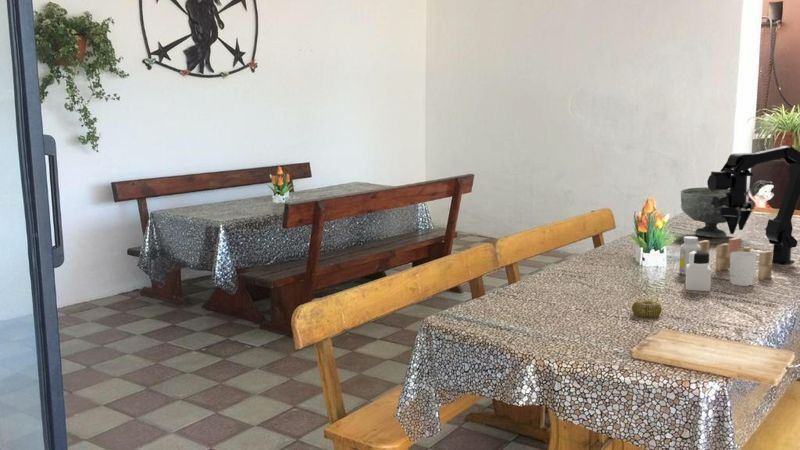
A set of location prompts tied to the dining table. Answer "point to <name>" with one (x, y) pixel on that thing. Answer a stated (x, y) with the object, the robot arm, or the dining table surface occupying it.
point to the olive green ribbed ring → (646, 308)
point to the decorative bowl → (704, 210)
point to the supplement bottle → (687, 251)
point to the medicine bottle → (698, 271)
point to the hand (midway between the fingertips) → (736, 231)
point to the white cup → (742, 268)
